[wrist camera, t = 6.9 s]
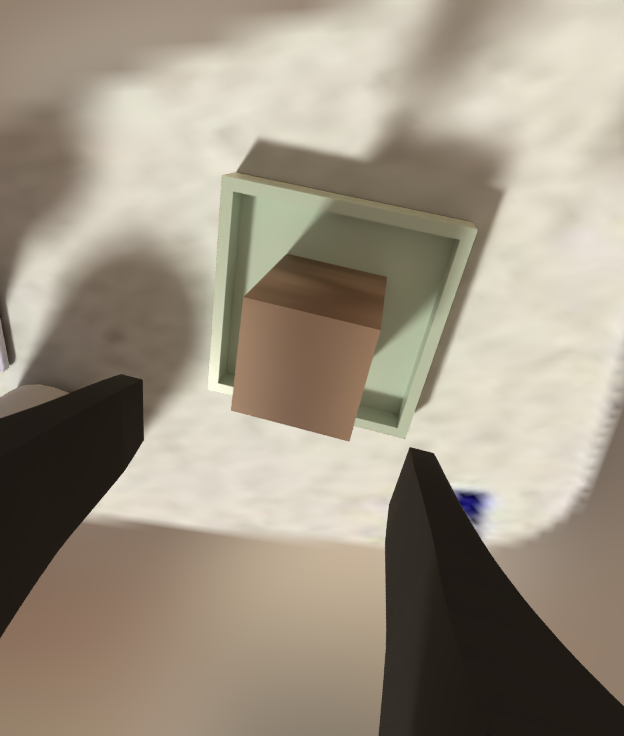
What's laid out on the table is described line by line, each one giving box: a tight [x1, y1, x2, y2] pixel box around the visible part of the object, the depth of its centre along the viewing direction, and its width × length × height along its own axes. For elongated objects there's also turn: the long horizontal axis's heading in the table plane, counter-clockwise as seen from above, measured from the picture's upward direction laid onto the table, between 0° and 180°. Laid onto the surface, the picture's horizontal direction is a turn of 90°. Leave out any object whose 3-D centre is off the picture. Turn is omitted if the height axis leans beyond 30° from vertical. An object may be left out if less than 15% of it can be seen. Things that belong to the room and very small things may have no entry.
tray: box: [208, 172, 478, 439], centre depth 20 cm, size 10×10×2 cm
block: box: [231, 254, 387, 441], centre depth 18 cm, size 4×4×6 cm
